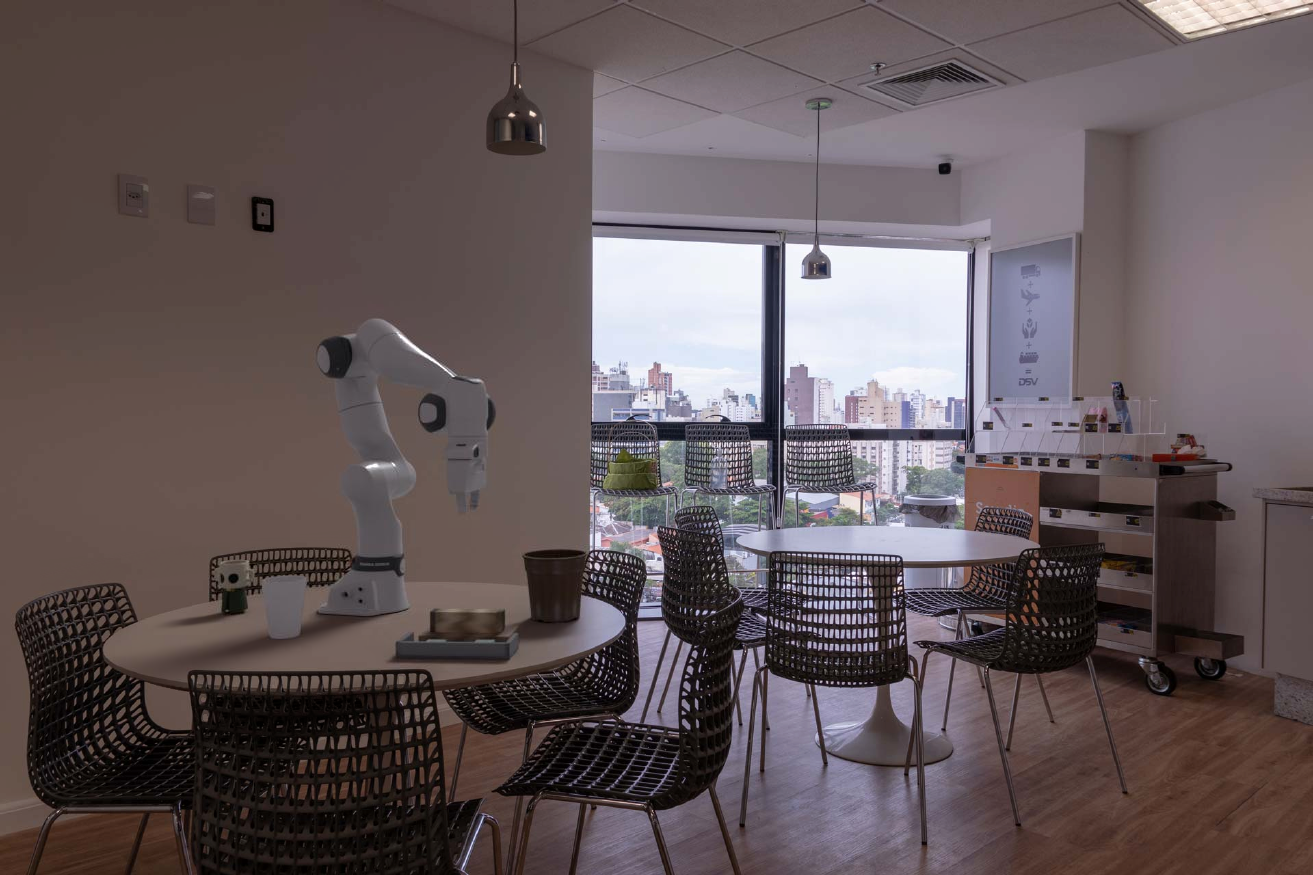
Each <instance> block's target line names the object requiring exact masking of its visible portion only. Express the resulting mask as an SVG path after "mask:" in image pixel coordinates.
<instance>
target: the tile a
mask: <svg viewBox="0 0 1313 875" xmlns="http://www.w3.org/2000/svg"><path fill="white" fill-rule="evenodd" d="M426 642H447V640H439V639H428V640H427V641H426Z"/></svg>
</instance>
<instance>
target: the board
mask: <svg viewBox="0 0 1313 875" xmlns="http://www.w3.org/2000/svg"><path fill="white" fill-rule="evenodd" d="M519 628H520V627H519V625H505V630H504V631H503V632H502V633H461V632H430V626H429V627H428V628H426V629H425V630H424V631H422V632H421V633H420V634H419V635H418V641H425V642H426V641H427V640H428V639H439V640H447V642H475V641H476V640H495V642H507V640H508V639H509V638H510V637H511V636H512V635H513V634H514V633H518V638H520V634H519V632H520V630H519Z"/></svg>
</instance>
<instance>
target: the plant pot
mask: <svg viewBox="0 0 1313 875" xmlns="http://www.w3.org/2000/svg"><path fill="white" fill-rule="evenodd" d="M587 556H588V552H587V551H586V550H581V549H572V548H571V549H569V548H567V549H566V548H553V549H541V550H540V549H538V550H530V551H526V552H524V553H522V554H521V558H523V562H524V563H523V564H524V571H525V572H526V579H527V589H528V596H529V607H530V608H529V610H530V618H531V619H532V620H533V621H537V622H539V621H543V622H544V623H563V622H569V621H573V620H574V619H579V618H580V616H581V604H582V603H581V602H582V591H583V590H582V589H583V578H584V570H585V568H586V558H587Z"/></svg>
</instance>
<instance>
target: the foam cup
mask: <svg viewBox="0 0 1313 875" xmlns="http://www.w3.org/2000/svg"><path fill="white" fill-rule="evenodd" d="M307 587H308V585H307V576H304V575H279V576H278V575H277V576H271V577H267V578H263V579H262V580H261V591H262V593H263V599H264V605H265V612H266V613H265V614H266V619H267V625H268V631H269V632H268V633H269V637H270V638H271V639H276V640H281V639H283V640H284V639H293V638H296V637H299V636H300V634H301V628H302V620H303V613H304V606H305V605H304V604H305V596H306V589H307Z"/></svg>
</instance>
